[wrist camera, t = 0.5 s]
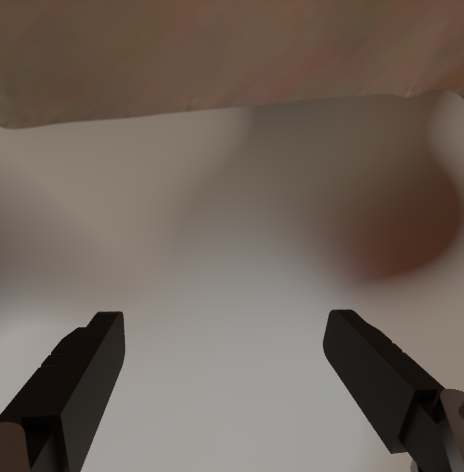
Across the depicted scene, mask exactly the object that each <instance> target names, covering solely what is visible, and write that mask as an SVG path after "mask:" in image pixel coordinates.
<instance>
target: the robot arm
mask: <svg viewBox="0 0 464 472" xmlns="http://www.w3.org/2000/svg"><path fill="white" fill-rule="evenodd" d="M323 349H324V353H325V356H326V358H327V359H328V361H329V362H330V364H331V365H332V367H333V368H334V370H335V371H336V373H337V374H338V376H339V377H340V379H341V380H342V382H343V383H344V385H345V386H346V388H347V389H348V391H349V392H350V394H351V395H352V397H353V398H354V400H355V401H356V403H357V404H358V406H359V407H360V408H361V410H362V412H363V413H364V415H365V416H366V418H367V419H368V421H369V422H370V423H371V425H372V426H373V428H374V429H375V431H376V432H377V434H378V435H379V437H380V438H381V440H382V441H383V443H384V444H385V446H386V447H387V449H388V450H389V451H390V453H391V454H394V453H403V452H408V453H409V454H410V456H411V457H412V458H413V460H412V462H411V466H410V468H411V472H464V392H462V391H459V390H455V389H445V388H444V387H443V386H442V385H440V383H438V382H437V381H436V380H435V379H434V378H433V377H432V376H430V375H429V374H428V373H427V372H426V371H425V370H424V369H423V368H421V367H420V366H419V365H418V364H417V363H416V362H415V361H414V360H413V359H411V358H410V357H409V356H408V355H407V354H406V353H403V352H402V350H401V349H400V348H399V347H398V346H397V345H396V344H394V343H392V341H391V340H390V339H389V338H388V337H387V336H385V335H384V334H383V333H382V332H381V331H380V330H378V329H377V328H375V327H373V326H372V325H370V324H368V323H367V322H365V321H364V320H363V319H362V318H361V317H360V316H359V315H358V314H357V313H356V312H355V311H353V310H332V311H331V312H330V314H329V317H328V322H327V326H326V331H325V335H324V340H323ZM124 355H125V335H124V318H123V313H122V312H119V311H118V312H98V313H97V314H96V315H95V316H94V317H93V319H92V320H91V321H90V323H89V324H88V325H87V327H79V328H77V329H75V330H74V331H73V332H71V333H70V334H68V335H67V336H66V337H64V338H63V339H62V340H61V341H60V342H59V343H58V345H57V346H56V347H55V348H54V350H53V351H52V352H51V355H49V356H48V357H47V358H46V359H45V361H44V362H43V363H42V364H41V367H40V368H38V369H37V370H36V372H35V373H34V374H33V375H32V377H31V378H30V379H29V380H28V381H27V383H26V384H25V385H24V386H23V387H22V389H21V390H20V391H19V392H18V394H17V395H16V396H15V397H14V398H13V400H12V401H11V402H10V403H9V405H8V406H7V407H6V408H5V410H4V411H3V412H2V413H1V414H0V472H80V471H81V468H82V466H83V464H84V461H85V459H86V456H87V454H88V451H89V449H90V446H91V444H92V441H93V438H94V436H95V433H96V431H97V428H98V426H99V423H100V421H101V418H102V416H103V413H104V411H105V408H106V406H107V403H108V401H109V398H110V396H111V393H112V391H113V388H114V386H115V383H116V381H117V378H118V375H119V373H120V371H121V368H122V365H123V361H124Z"/></svg>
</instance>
